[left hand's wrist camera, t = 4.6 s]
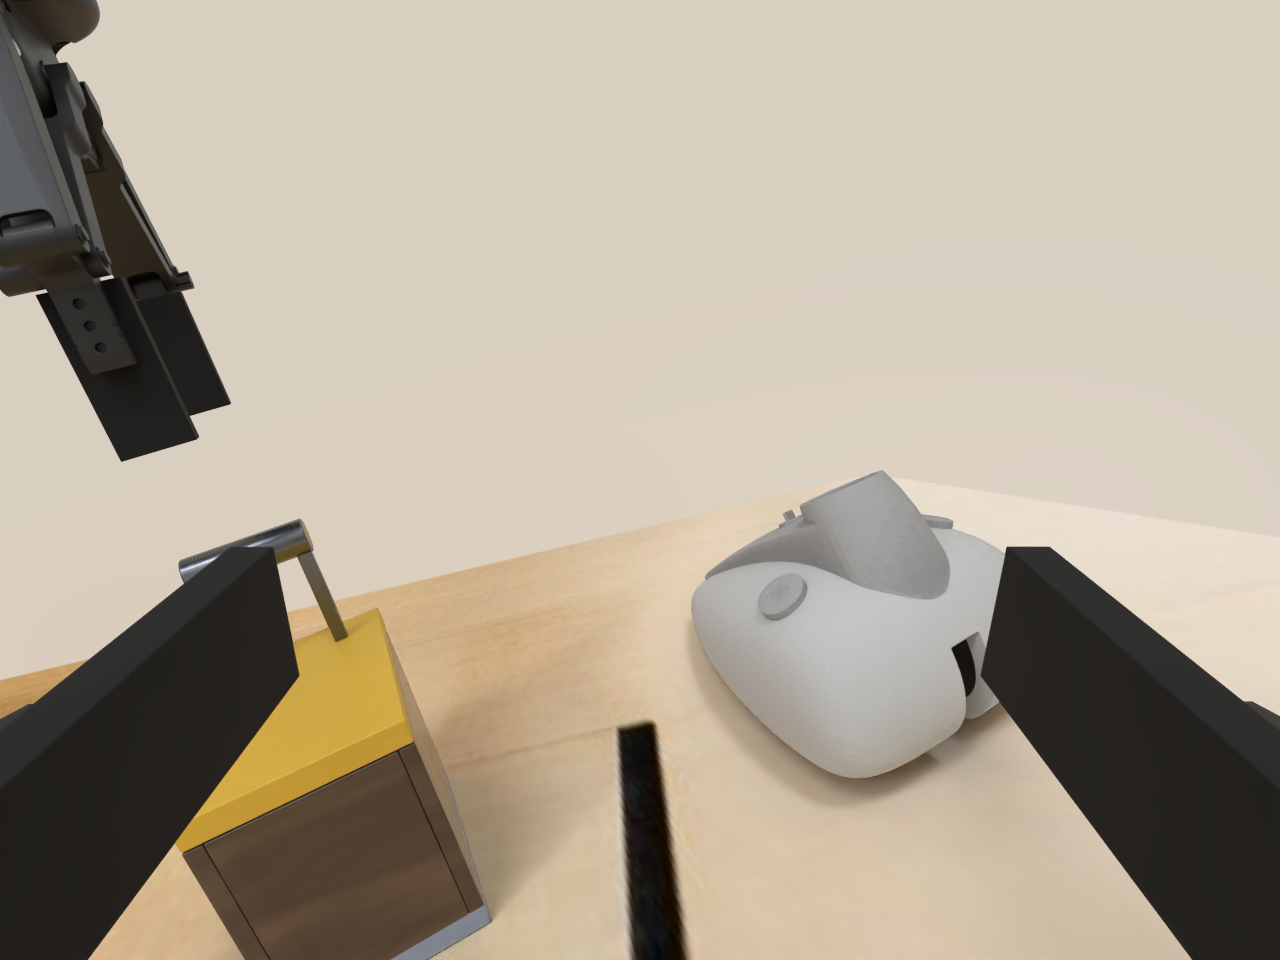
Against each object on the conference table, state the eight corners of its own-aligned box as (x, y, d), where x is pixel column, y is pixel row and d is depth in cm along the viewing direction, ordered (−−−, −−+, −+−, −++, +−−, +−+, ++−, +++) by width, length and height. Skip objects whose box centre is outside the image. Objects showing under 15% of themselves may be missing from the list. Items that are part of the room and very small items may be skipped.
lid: (219, 694, 39) (149, 560, 36) (384, 625, 42) (332, 498, 39) (181, 854, 27) (72, 675, 24) (414, 742, 30) (342, 572, 28)
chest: (296, 847, 42) (218, 700, 38) (445, 772, 45) (386, 629, 42) (291, 1039, 31) (181, 856, 27) (491, 921, 34) (415, 743, 30)
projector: (1002, 571, 51) (987, 379, 46) (1112, 827, 31) (1105, 531, 26) (709, 594, 58) (671, 429, 53) (641, 814, 38) (568, 580, 33)
